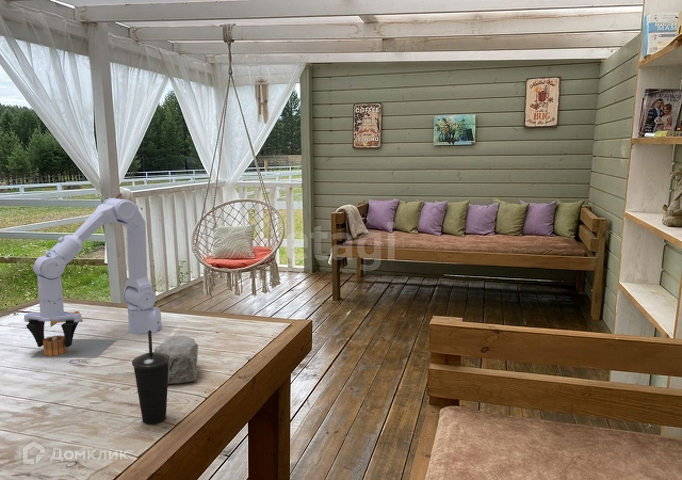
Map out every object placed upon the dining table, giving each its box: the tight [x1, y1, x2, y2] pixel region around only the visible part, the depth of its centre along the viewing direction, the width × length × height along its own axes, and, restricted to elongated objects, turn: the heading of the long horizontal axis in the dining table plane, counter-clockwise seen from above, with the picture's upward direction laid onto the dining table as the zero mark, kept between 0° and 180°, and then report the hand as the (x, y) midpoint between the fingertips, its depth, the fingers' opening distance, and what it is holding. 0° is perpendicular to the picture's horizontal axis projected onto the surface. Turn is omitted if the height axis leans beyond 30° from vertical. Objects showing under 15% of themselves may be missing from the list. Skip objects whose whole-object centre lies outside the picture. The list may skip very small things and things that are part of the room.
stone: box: [153, 335, 199, 385], centre depth 131 cm, size 13×12×10 cm
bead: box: [42, 334, 67, 356], centre depth 142 cm, size 6×6×4 cm
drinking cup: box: [131, 330, 170, 426], centre depth 109 cm, size 8×8×20 cm
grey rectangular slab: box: [30, 338, 118, 359], centre depth 146 cm, size 18×14×2 cm
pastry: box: [49, 310, 83, 327], centre depth 172 cm, size 9×7×4 cm
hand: (55, 345), depth 142 cm, fingers open, 7 cm apart
